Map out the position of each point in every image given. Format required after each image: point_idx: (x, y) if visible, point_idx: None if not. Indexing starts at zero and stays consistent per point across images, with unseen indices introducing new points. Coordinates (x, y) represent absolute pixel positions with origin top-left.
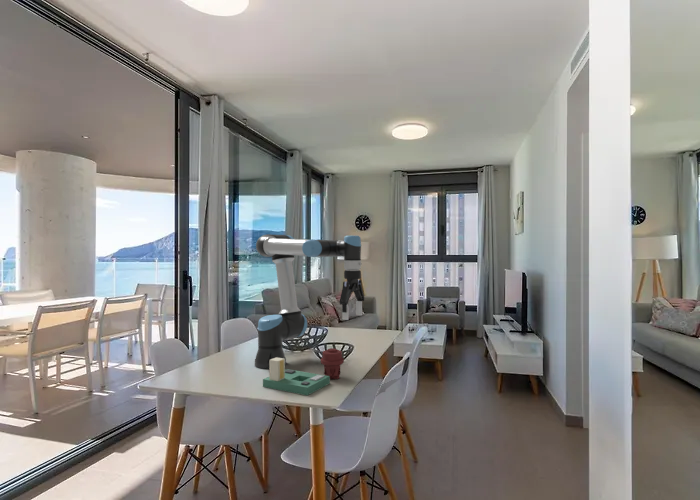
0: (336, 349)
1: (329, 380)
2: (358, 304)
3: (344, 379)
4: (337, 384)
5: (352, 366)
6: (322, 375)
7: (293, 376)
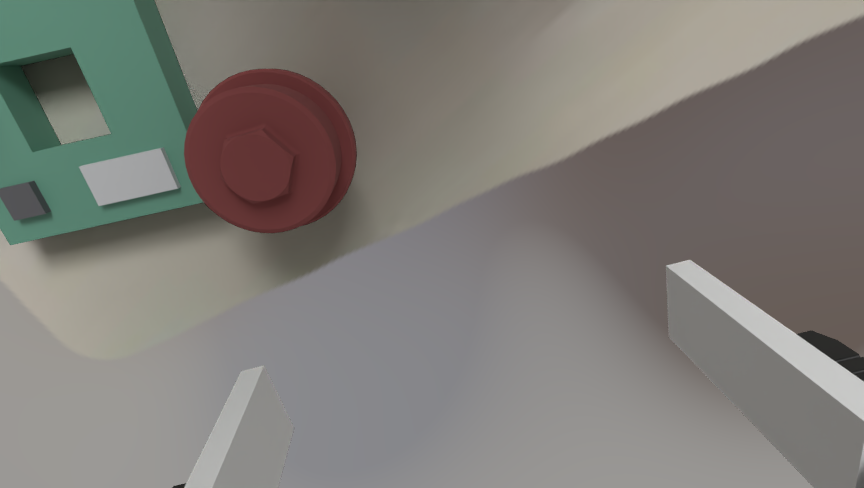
0: (280, 195)
1: None
2: (793, 414)
3: None
4: None
5: (537, 73)
6: None
7: (27, 35)
